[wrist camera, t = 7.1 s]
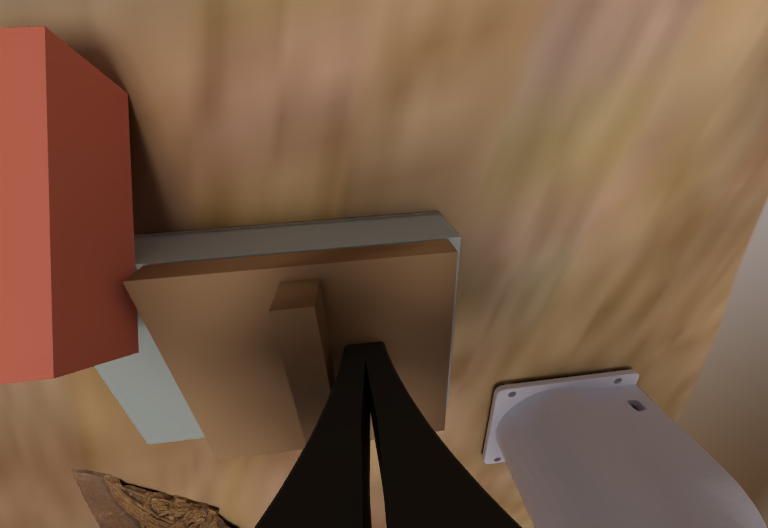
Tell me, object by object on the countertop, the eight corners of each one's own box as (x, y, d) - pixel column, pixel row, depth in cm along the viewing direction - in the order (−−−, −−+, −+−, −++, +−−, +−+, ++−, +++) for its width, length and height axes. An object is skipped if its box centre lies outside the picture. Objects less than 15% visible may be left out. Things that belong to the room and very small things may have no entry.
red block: (127, 93, 10) (44, 26, 7) (138, 352, 9) (53, 378, 7) (31, 97, 10) (-89, 31, 7) (37, 363, 9) (-91, 394, 7)
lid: (448, 239, 10) (476, 275, 8) (438, 410, 14) (454, 464, 12) (143, 265, 9) (81, 312, 7) (225, 437, 14) (202, 500, 11)
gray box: (438, 210, 13) (461, 236, 10) (432, 360, 17) (447, 406, 15) (100, 237, 12) (29, 273, 9) (180, 390, 16) (148, 444, 14)
